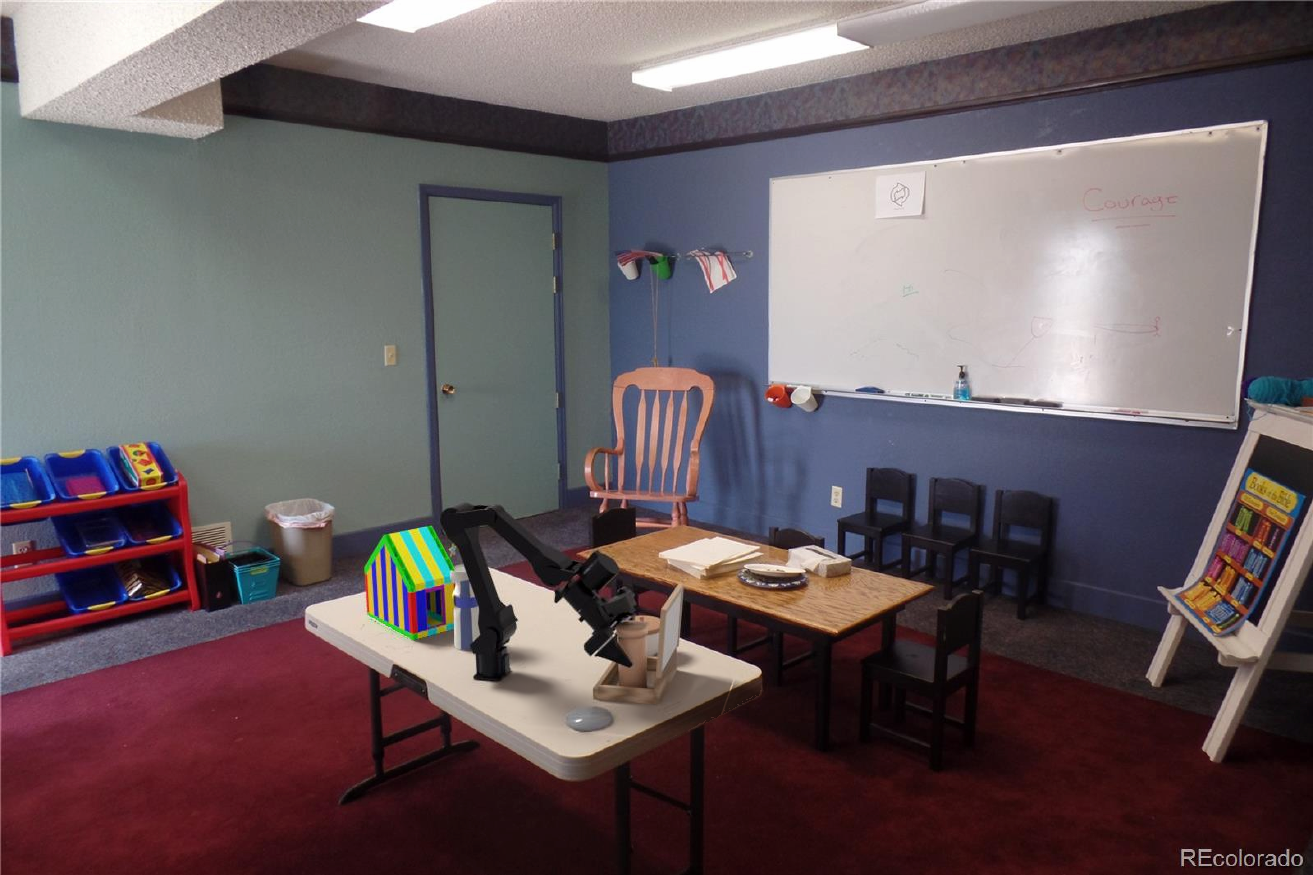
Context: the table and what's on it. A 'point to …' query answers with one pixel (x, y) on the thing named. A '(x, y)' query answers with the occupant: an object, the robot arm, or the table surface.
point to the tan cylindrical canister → (633, 653)
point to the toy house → (411, 583)
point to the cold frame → (652, 695)
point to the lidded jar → (651, 633)
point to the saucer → (588, 718)
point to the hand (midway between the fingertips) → (638, 658)
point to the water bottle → (463, 608)
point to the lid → (669, 628)
